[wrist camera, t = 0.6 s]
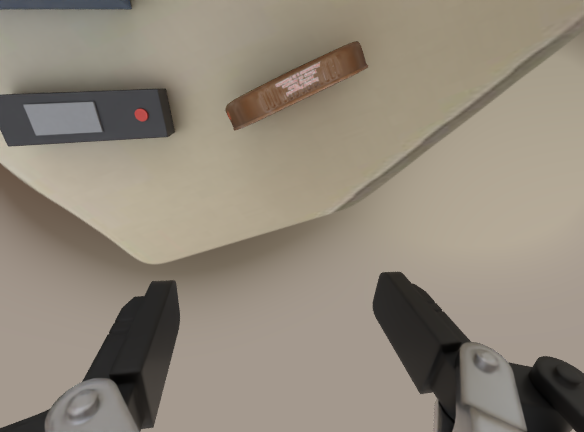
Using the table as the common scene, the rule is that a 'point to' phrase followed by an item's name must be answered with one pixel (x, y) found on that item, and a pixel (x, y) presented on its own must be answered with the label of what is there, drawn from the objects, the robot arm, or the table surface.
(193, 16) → the table surface
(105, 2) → the open blue packaging tray
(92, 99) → the remote
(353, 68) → the tin
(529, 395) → the robot arm
